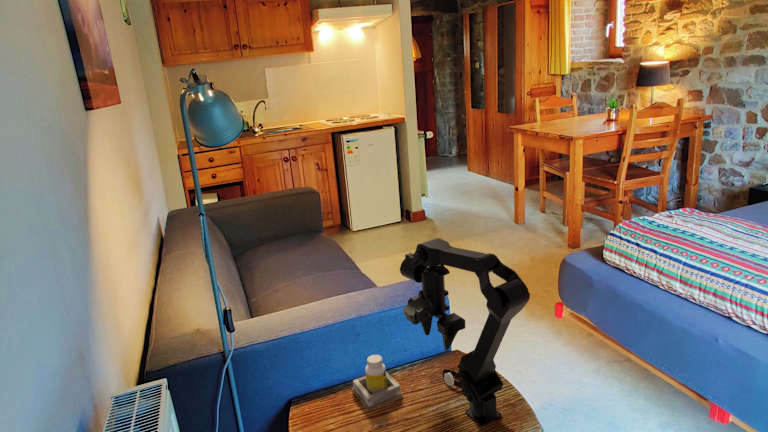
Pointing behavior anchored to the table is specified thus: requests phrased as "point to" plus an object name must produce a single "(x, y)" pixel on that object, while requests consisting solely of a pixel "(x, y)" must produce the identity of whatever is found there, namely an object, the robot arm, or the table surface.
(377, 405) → the grey open square box
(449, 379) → the watch
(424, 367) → the table surface
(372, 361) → the supplement bottle
